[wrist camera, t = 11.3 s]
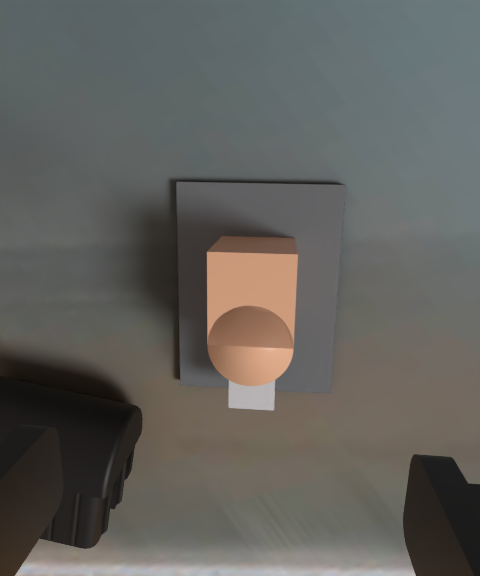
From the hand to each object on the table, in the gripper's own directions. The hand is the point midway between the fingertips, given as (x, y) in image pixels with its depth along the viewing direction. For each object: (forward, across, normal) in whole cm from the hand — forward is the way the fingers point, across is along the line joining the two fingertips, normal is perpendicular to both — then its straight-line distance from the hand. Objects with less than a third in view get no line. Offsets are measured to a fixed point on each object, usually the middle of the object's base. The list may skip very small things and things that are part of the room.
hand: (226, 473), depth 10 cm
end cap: (+16, +12, +9) cm, 22 cm away
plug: (+16, 0, +1) cm, 16 cm away
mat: (+16, 0, 0) cm, 16 cm away
